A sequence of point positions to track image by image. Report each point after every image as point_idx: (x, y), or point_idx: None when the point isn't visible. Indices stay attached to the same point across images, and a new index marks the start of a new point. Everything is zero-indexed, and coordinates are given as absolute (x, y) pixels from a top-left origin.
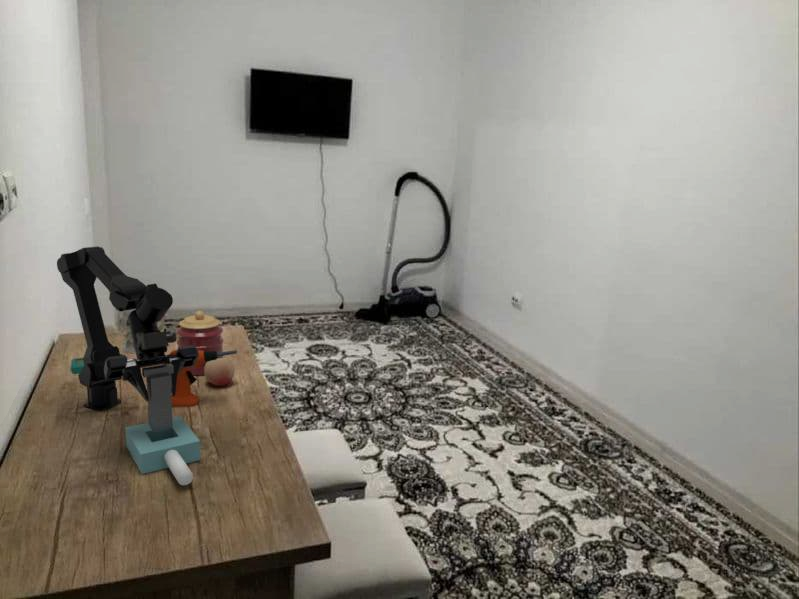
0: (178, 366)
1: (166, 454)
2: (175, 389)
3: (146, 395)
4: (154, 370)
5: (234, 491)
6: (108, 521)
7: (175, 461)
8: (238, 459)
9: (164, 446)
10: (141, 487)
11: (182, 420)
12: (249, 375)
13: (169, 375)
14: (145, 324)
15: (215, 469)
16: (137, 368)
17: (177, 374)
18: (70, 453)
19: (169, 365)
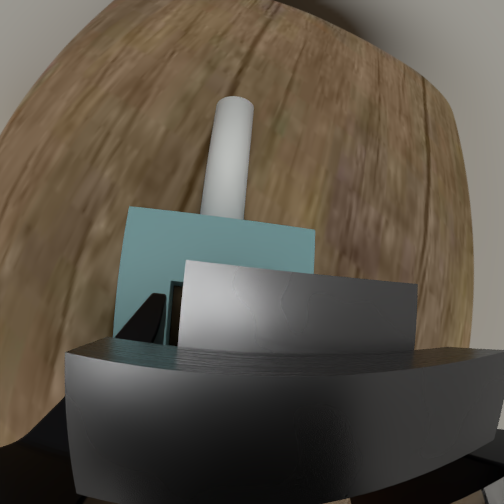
0: (10, 453)
1: (240, 214)
2: (140, 308)
3: None
4: (413, 365)
5: (156, 73)
6: (373, 129)
7: (238, 151)
8: (68, 175)
9: (238, 237)
10: (307, 189)
11: None
12: None
13: (195, 276)
14: None
15: (134, 161)
16: (500, 450)
17: (63, 398)
18: None
19: (133, 433)
